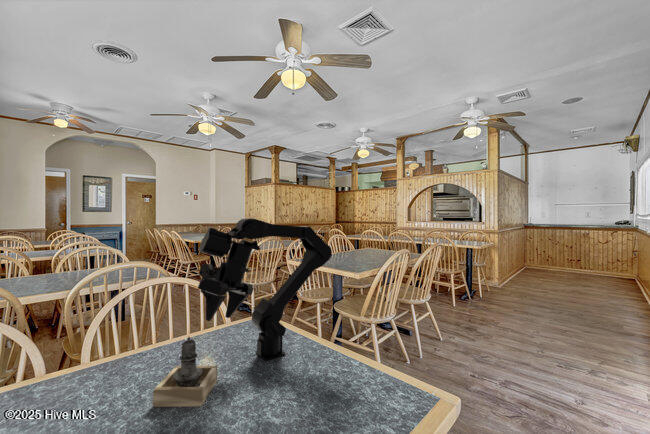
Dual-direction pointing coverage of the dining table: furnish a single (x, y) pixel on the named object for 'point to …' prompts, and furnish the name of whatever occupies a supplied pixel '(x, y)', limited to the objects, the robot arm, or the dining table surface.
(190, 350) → the dark grey chess piece
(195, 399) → the wooden tray
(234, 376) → the dining table surface
